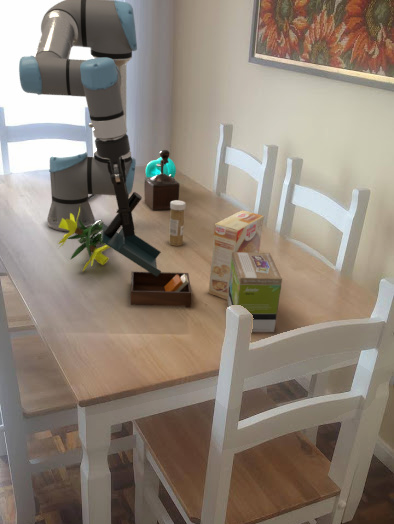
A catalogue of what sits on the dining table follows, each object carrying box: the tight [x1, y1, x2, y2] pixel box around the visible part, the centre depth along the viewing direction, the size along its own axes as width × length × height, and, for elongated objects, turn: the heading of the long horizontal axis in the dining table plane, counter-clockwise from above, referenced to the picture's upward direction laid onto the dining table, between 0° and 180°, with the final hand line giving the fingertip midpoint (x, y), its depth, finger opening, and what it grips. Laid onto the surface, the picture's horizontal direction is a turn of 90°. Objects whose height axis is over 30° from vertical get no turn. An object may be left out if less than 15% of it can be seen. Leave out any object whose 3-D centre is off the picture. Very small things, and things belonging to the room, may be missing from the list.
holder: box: [130, 271, 193, 308], centre depth 149 cm, size 12×15×4 cm
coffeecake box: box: [207, 209, 265, 301], centre depth 152 cm, size 15×7×20 cm, turn 148°
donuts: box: [145, 156, 177, 179], centre depth 234 cm, size 10×10×10 cm
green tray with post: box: [101, 191, 162, 277], centre depth 142 cm, size 10×16×13 cm
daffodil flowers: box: [57, 208, 112, 272], centre depth 163 cm, size 17×15×35 cm
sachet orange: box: [164, 274, 183, 292], centre depth 150 cm, size 4×5×1 cm
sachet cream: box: [175, 274, 189, 292], centre depth 150 cm, size 4×5×1 cm
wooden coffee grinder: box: [143, 149, 180, 211], centre depth 210 cm, size 16×11×18 cm
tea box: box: [227, 252, 283, 333], centre depth 139 cm, size 15×10×15 cm, turn 5°
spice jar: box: [168, 199, 186, 247], centre depth 178 cm, size 5×5×14 cm
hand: (129, 232), depth 142 cm, fingers closed on green tray with post, 2 cm apart
